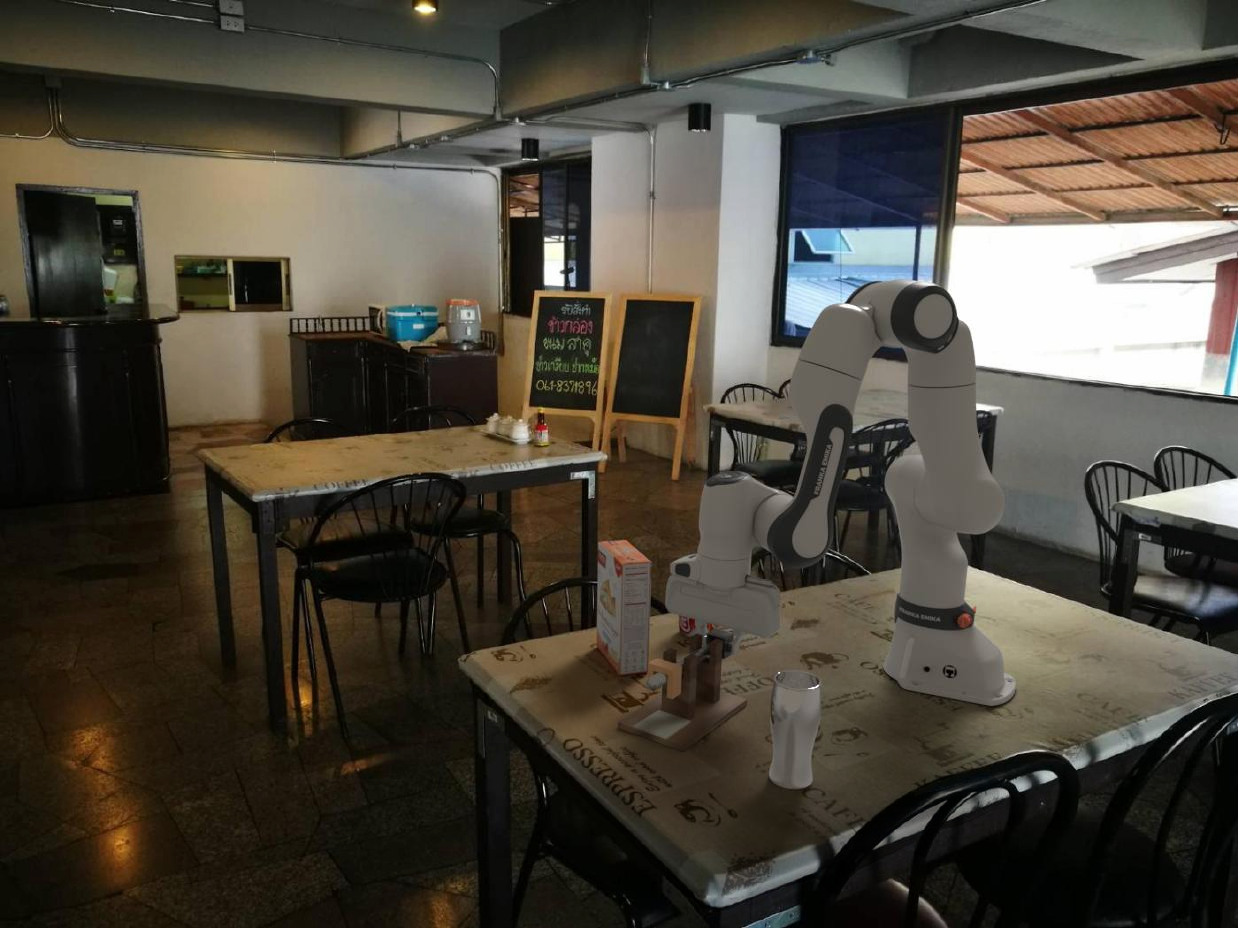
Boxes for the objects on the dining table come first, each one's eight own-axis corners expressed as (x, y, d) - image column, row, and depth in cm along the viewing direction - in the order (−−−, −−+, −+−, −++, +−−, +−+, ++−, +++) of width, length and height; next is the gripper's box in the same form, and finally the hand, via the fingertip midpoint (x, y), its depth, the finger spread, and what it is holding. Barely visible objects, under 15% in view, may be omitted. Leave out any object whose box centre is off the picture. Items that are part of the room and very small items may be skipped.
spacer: (680, 693, 146) (681, 665, 145) (672, 699, 144) (673, 670, 143) (655, 685, 149) (656, 658, 148) (647, 690, 147) (648, 662, 146)
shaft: (732, 653, 160) (733, 633, 159) (661, 698, 142) (662, 675, 142) (714, 648, 162) (715, 628, 161) (641, 691, 144) (642, 669, 144)
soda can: (711, 642, 184) (714, 582, 182) (675, 638, 185) (678, 579, 183) (715, 629, 191) (718, 571, 188) (680, 625, 192) (683, 568, 190)
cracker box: (594, 647, 180) (596, 540, 176) (624, 644, 182) (627, 538, 178) (617, 677, 167) (620, 562, 163) (649, 673, 169) (653, 560, 165)
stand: (746, 704, 157) (750, 640, 155) (683, 751, 141) (686, 680, 139) (685, 685, 164) (687, 623, 162) (617, 727, 148) (619, 659, 146)
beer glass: (760, 766, 138) (766, 669, 135) (807, 765, 139) (814, 668, 136) (772, 791, 131) (779, 690, 128) (821, 790, 132) (829, 689, 129)
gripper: (789, 578, 154) (784, 658, 156) (681, 553, 165) (678, 629, 168) (771, 587, 149) (766, 670, 151) (661, 562, 160) (658, 639, 163)
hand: (719, 648), depth 160 cm, fingers closed on shaft, 4 cm apart
